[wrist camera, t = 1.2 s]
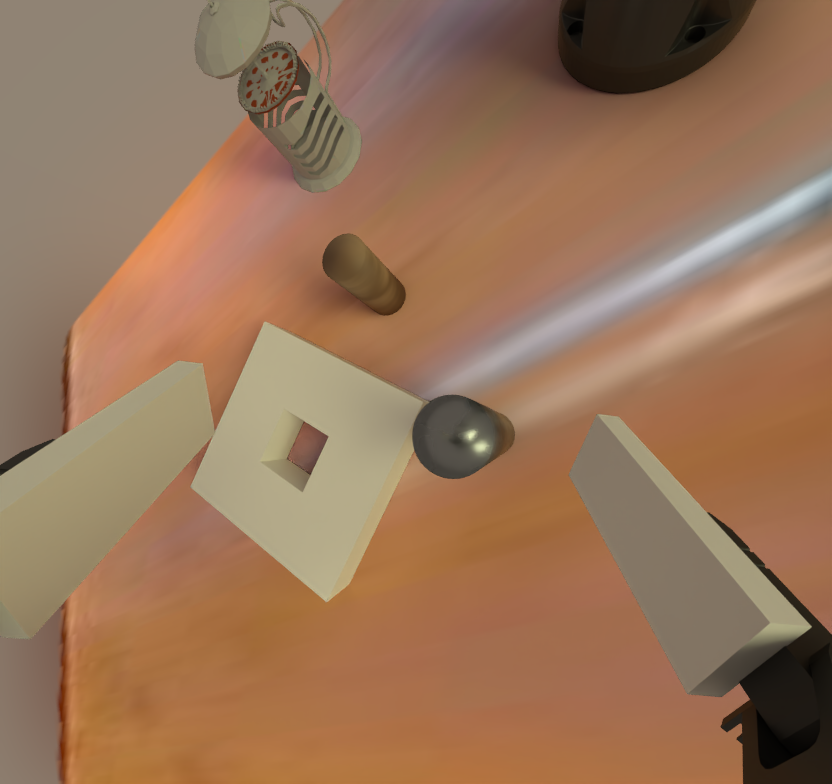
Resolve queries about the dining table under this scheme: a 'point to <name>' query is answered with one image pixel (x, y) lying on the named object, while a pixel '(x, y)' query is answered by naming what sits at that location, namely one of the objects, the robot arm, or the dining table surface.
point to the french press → (279, 89)
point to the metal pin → (459, 436)
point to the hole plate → (335, 469)
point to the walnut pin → (363, 274)
